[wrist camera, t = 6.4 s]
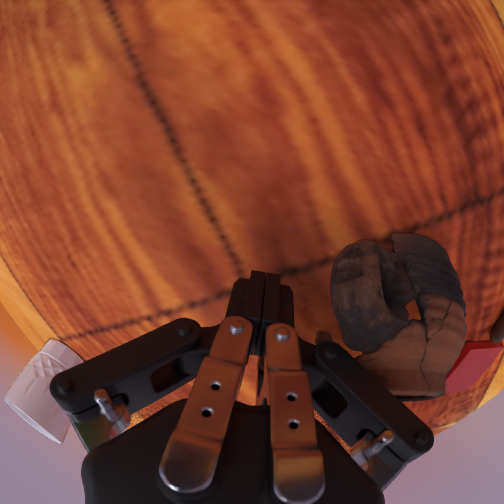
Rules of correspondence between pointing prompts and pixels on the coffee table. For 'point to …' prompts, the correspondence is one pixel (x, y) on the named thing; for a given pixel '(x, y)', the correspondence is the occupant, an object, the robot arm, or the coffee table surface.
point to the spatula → (475, 360)
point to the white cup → (42, 390)
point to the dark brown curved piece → (400, 313)
